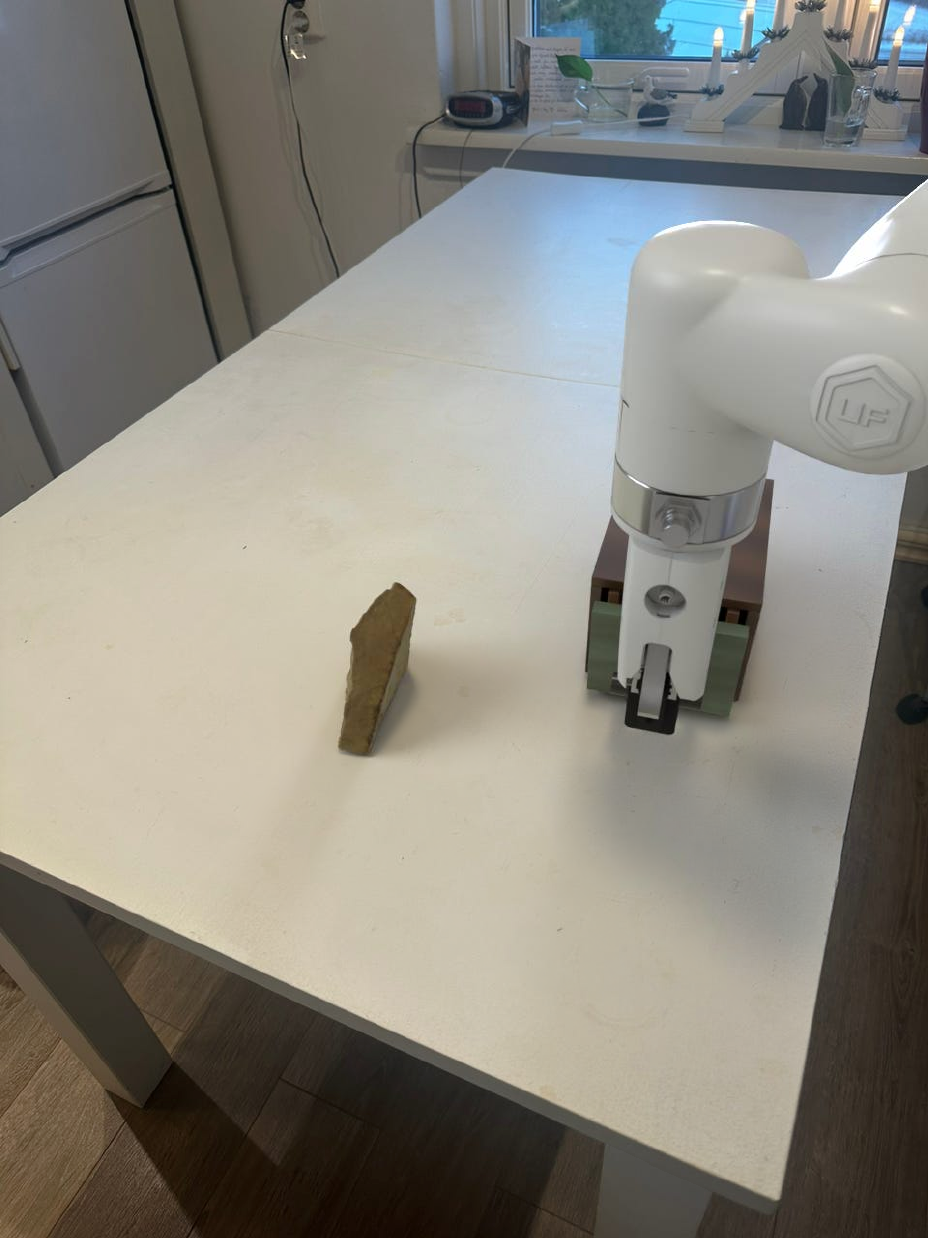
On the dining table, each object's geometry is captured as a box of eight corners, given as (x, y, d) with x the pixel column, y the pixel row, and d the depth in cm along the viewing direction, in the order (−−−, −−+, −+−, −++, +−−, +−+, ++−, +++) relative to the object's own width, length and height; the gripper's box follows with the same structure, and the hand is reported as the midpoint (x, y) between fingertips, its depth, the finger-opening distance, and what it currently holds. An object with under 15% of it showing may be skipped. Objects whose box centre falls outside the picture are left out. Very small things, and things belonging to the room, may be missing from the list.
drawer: (723, 761, 60) (743, 683, 54) (574, 731, 62) (579, 652, 57) (744, 590, 73) (761, 513, 68) (620, 570, 75) (627, 495, 70)
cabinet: (738, 701, 65) (762, 604, 58) (584, 672, 68) (591, 576, 61) (752, 572, 76) (774, 479, 69) (619, 552, 79) (628, 460, 72)
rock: (382, 766, 59) (473, 668, 63) (303, 671, 56) (403, 576, 61) (318, 758, 68) (402, 672, 72) (247, 675, 65) (338, 592, 70)
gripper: (752, 588, 39) (696, 828, 51) (768, 422, 49) (719, 655, 61) (585, 563, 41) (570, 800, 53) (635, 408, 51) (613, 636, 63)
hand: (650, 721), depth 57 cm, fingers closed
